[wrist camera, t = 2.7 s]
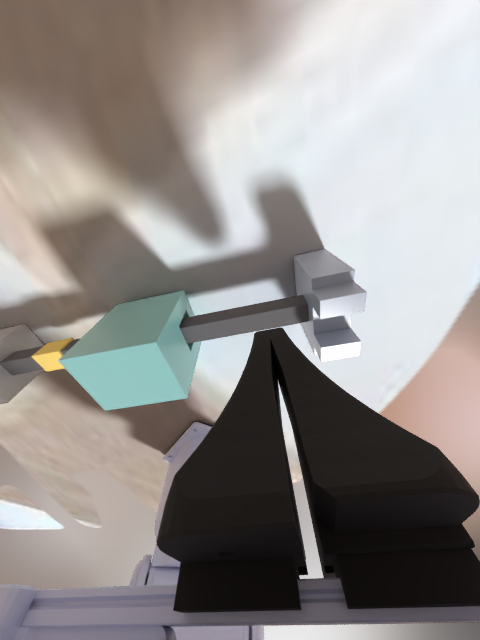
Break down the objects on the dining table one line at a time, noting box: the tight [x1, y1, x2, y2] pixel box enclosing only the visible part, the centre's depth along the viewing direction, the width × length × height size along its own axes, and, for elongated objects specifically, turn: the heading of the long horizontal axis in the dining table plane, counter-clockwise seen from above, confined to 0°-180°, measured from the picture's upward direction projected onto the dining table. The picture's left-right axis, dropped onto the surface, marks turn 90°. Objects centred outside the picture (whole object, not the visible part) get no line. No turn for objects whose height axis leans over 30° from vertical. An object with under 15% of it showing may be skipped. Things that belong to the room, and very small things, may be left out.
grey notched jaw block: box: [293, 249, 367, 362], centre depth 12 cm, size 2×5×5 cm, turn 13°
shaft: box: [0, 295, 309, 375], centre depth 14 cm, size 23×1×1 cm, turn 103°
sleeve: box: [58, 290, 201, 411], centre depth 13 cm, size 5×4×6 cm
